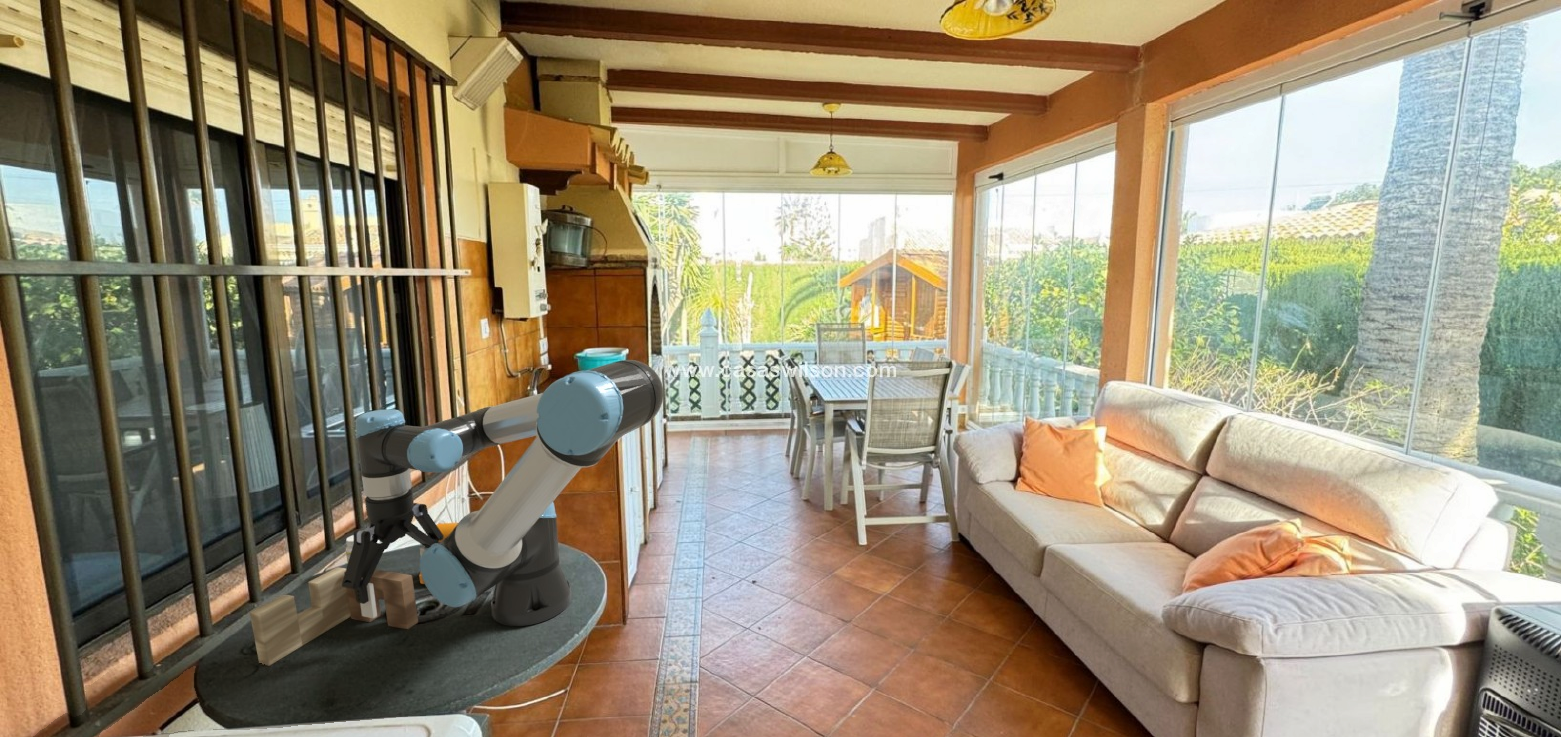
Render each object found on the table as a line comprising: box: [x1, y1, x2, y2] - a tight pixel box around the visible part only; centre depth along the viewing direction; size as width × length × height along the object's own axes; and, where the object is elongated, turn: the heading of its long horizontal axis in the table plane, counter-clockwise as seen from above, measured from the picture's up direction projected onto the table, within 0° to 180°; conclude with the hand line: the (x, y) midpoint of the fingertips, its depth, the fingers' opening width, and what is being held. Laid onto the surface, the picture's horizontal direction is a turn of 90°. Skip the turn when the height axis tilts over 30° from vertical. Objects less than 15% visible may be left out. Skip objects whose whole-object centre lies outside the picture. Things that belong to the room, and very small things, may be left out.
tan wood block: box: [344, 569, 419, 630], centre depth 120 cm, size 14×2×10 cm, turn 75°
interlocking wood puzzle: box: [249, 566, 351, 667], centre depth 115 cm, size 2×16×10 cm, turn 165°
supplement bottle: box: [345, 534, 354, 563], centre depth 139 cm, size 5×5×8 cm
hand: (401, 596), depth 118 cm, fingers open, 13 cm apart
